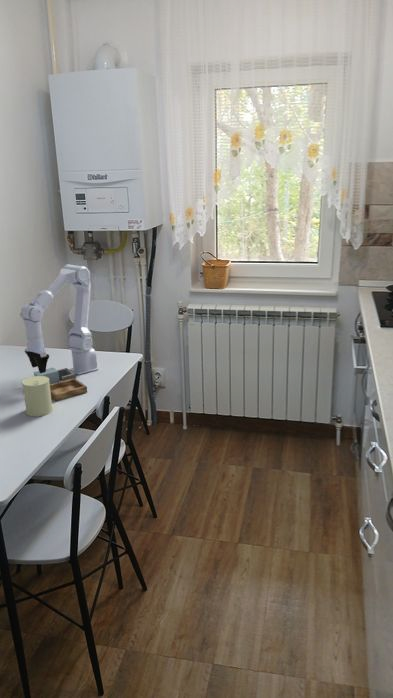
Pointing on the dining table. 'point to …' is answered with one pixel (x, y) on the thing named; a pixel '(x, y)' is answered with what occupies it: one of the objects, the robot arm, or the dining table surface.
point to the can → (37, 395)
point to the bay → (66, 374)
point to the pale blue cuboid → (49, 375)
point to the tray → (67, 389)
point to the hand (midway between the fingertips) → (38, 369)
